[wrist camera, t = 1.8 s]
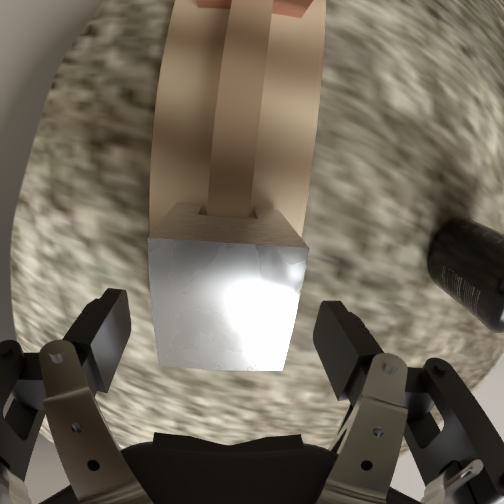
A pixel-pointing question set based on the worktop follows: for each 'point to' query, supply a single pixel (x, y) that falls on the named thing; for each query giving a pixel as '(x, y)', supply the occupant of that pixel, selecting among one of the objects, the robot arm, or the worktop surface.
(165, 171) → the rail
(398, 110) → the worktop surface
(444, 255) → the supplement bottle
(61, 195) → the worktop surface
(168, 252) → the block
